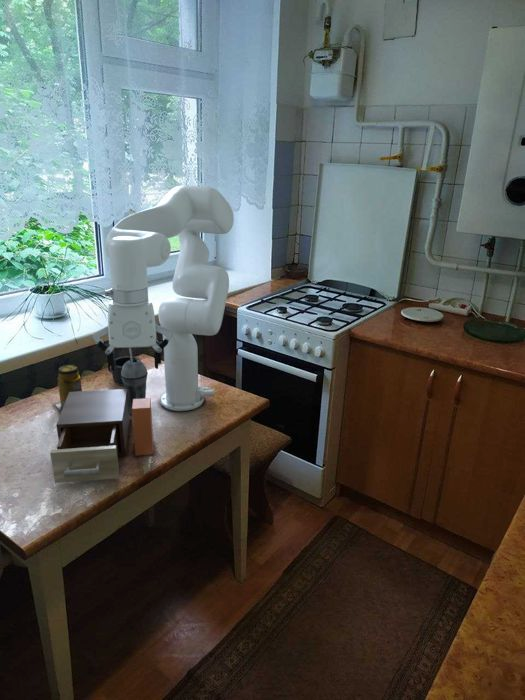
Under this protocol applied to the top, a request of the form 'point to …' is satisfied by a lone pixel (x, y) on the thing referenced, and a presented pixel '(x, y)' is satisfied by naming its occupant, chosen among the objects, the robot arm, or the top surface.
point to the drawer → (86, 454)
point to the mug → (120, 368)
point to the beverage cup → (134, 379)
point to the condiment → (68, 382)
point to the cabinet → (97, 412)
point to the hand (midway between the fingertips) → (135, 367)
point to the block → (142, 426)
